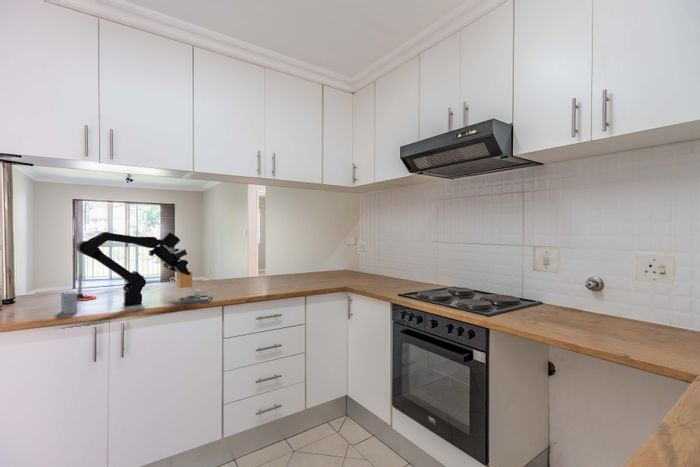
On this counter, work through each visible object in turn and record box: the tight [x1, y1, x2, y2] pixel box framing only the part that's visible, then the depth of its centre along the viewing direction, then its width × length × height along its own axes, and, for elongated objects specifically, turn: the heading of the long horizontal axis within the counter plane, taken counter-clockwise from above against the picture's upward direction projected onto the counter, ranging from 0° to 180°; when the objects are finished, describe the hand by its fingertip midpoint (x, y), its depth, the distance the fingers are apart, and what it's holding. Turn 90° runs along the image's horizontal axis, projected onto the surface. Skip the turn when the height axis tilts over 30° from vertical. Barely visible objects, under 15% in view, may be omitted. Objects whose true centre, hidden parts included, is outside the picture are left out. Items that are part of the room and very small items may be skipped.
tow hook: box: [77, 273, 97, 302], centre depth 165 cm, size 8×13×9 cm
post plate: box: [180, 289, 213, 305], centre depth 165 cm, size 12×12×5 cm
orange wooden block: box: [176, 269, 193, 289], centre depth 173 cm, size 6×6×8 cm
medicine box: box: [60, 290, 78, 315], centre depth 140 cm, size 8×4×9 cm, turn 48°
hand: (187, 274), depth 174 cm, fingers closed on orange wooden block, 6 cm apart
